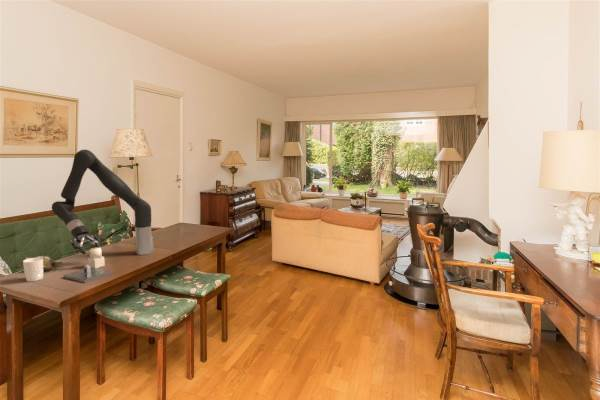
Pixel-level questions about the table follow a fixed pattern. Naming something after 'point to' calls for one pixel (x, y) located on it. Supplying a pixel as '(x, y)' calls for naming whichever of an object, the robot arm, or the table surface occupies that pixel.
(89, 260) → the knob
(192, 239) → the table surface
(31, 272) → the white cup
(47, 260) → the ceramic sculpture
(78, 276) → the grey base with post
